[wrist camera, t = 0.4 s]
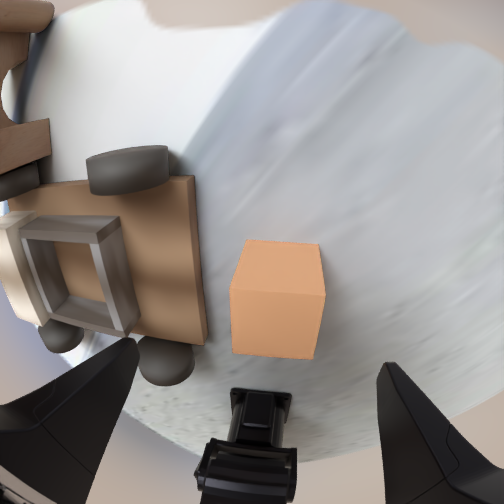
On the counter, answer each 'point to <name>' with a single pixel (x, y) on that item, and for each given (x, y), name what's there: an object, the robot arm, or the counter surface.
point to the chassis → (108, 257)
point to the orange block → (277, 299)
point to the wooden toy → (7, 57)
